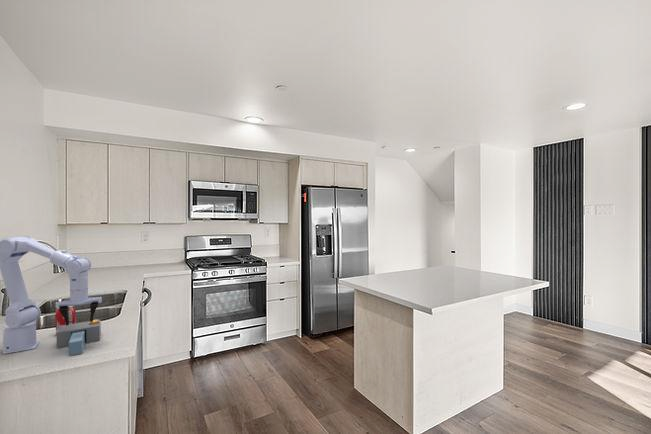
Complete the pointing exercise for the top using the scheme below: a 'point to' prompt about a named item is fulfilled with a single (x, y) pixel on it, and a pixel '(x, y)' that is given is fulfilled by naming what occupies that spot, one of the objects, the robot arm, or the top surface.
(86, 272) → the robot arm
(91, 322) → the plunger
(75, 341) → the block
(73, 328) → the housing
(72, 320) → the soda can
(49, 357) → the top surface
